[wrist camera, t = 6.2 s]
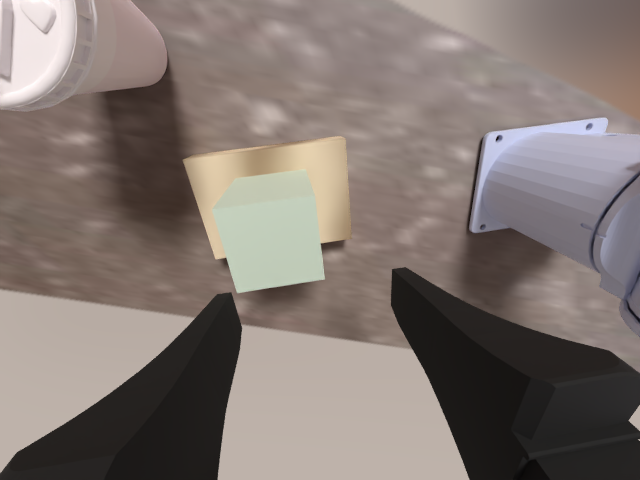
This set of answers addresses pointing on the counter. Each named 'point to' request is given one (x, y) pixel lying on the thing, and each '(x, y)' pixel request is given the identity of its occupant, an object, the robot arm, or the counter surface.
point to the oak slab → (313, 155)
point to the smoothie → (74, 50)
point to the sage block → (270, 230)
